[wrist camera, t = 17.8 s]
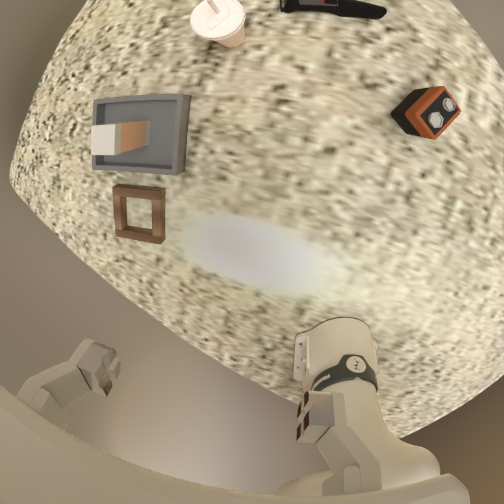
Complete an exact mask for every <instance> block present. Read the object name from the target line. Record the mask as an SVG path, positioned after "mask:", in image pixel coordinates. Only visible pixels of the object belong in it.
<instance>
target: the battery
mask: <svg viewBox="0 0 504 504" xmlns="http://www.w3.org/2000/svg"><path fill="white" fill-rule="evenodd" d="M460 112H461V110H460V108H459V106H458V105H457V103H456V102H455V101H454V99H453V98H452V96H451V95H450V93H449V92H448V91H447V89H446V88H445V87H444V86H438V87H430V88H422V89H416V90H414V91H413V92H412V93H411V94H410V95H409V96H408V97H407V98H405V99H404V100H403V101H402V102H401V103H400V104H399V105H398V106H397V107H396V108H395V109H394V110H393V111H392V113H391V115H392V117H393V118H394V119H395V120H396V121H397V123H398V124H399V125H400V126H401V127H402V129H403V130H404V131H405V132H406V133H407V134H410V135H415V136H420V137H424V138H429V139H433V140H435V139H436V138H437V137H438V136H439V135H440V134H441V133H442V132H443V131H444V130H445V129H446V128H447V127H448V126H449V125H450V124H451V123H452V122H453V120H454V119H455V118H456V117H457V116H458V115H459V114H460Z"/></svg>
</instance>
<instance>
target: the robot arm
mask: <svg viewBox="0 0 504 504" xmlns="http://www.w3.org/2000/svg"><path fill="white" fill-rule="evenodd" d="M377 349H378V343H377V341H376V340H375V339H373V338H372V335H371V331H370V329H369V327H368V326H367V325H366V324H365V323H363V322H362V321H360V320H357V319H353V318H336V319H332V320H328V321H326V322H323V323H321V324H319V325H318V326H316V327H315V328H313V329H312V330H310V331H307V332H304V333H301V334H298V335H297V336H296V337H295V351H294V367H293V378H294V379H295V380H297V381H299V382H301V383H303V391H304V392H305V394H304V399H303V400H301V402H300V404H299V407H298V413H297V420H298V422H299V423H300V424H299V426H298V428H297V436H296V442H304V443H316V446H317V448H318V449H319V451H320V453H321V454H322V456H323V457H324V459H325V461H326V463H327V464H328V466H329V468H330V469H331V470H328V471H323V472H318V473H313V474H308V475H306V476H303V477H300V478H297V479H294V480H291V481H289V482H286V483H284V484H282V485H281V486H280V487H279V488H278V489H277V491H276V493H275V494H274V495H267V494H257V493H248V492H240V491H233V490H227V489H221V488H216V487H211V486H206V485H201V484H197V483H193V482H189V481H185V480H181V479H178V478H174V477H171V476H167V475H164V474H161V473H158V472H155V471H152V470H149V469H146V468H143V467H140V466H137V465H135V464H132V463H130V462H127V461H125V460H122V459H120V458H118V457H115V456H113V455H111V454H108V453H106V452H104V451H102V450H100V449H98V448H96V447H94V446H92V445H90V444H88V443H86V442H84V441H82V440H80V439H78V438H76V437H75V436H73V435H71V434H69V433H67V432H66V431H64V430H65V428H66V426H67V424H68V422H69V417H68V416H67V415H66V413H65V412H64V411H63V410H65V409H66V408H68V407H69V406H71V405H72V404H74V403H75V402H77V401H79V400H80V399H81V398H83V397H84V396H86V395H88V394H89V393H91V391H93V392H95V393H98V394H100V395H103V396H105V397H107V396H108V394H109V392H110V390H111V388H112V381H113V380H115V379H117V377H118V375H119V372H120V361H119V360H118V358H117V357H116V354H117V353H116V350H115V349H113V348H111V347H108V346H106V345H103V344H100V343H97V342H96V341H93V340H90V339H88V338H86V339H84V340H83V341H82V342H81V344H80V345H79V346H78V348H77V349H76V351H75V352H74V353H73V355H72V356H71V358H70V359H69V361H68V362H62V363H60V364H58V365H56V366H54V367H51V368H49V369H47V370H45V371H43V372H41V373H38V374H36V375H34V376H32V377H30V378H28V379H27V381H26V382H25V384H24V385H23V387H22V388H21V390H20V391H19V392H18V394H17V395H16V397H14V396H13V395H12V394H11V393H9V392H8V391H7V390H6V389H4V388H3V387H2V386H1V385H0V504H470V498H469V493H468V490H467V488H466V487H465V486H464V485H463V484H462V483H461V482H460V481H459V480H458V479H456V478H455V477H454V476H453V475H451V474H444V475H440V467H439V464H438V461H437V459H436V458H435V456H434V455H433V454H432V453H431V452H430V451H428V450H427V449H425V448H422V447H419V446H414V445H410V444H407V443H405V442H403V441H401V440H399V439H398V438H396V437H395V436H394V435H393V434H392V433H391V432H390V431H389V429H388V428H387V426H386V425H385V423H384V420H383V417H382V414H381V410H380V406H379V402H378V398H377V391H378V386H377V384H378V383H377V378H376V375H375V374H376V373H377V372H378V366H377V359H376V352H375V351H376V350H377Z"/></svg>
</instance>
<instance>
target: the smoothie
mask: <svg viewBox="0 0 504 504" xmlns="http://www.w3.org/2000/svg"><path fill="white" fill-rule="evenodd" d="M244 21H245V11H244V8H243V7H242V5H241V4H240V3H239V2H238V1H237V0H204V1H203V2H201V3H200V4H199V5H197V6H196V8H195V9H194V10H193V12H192V14H191V19H190V23H191V26H192V28H193V30H194V31H195V32H196V34H197V35H199V36H200V37H202V38H204V39H207V40H214V41H216V42H218V43H220V44H222V45H224V46H226V47H230V48H233V47H237V46H239V45H240V44H242V43H243V41H244V39H245V32H244Z"/></svg>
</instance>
